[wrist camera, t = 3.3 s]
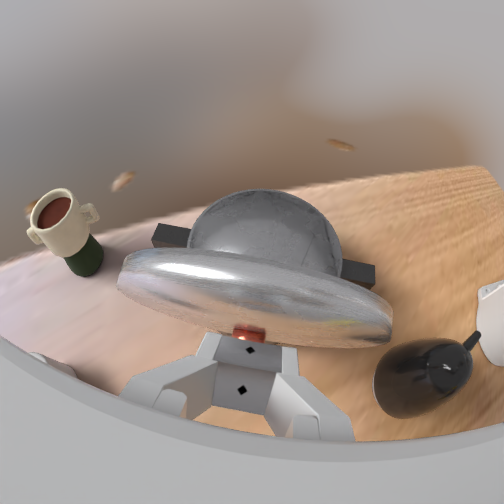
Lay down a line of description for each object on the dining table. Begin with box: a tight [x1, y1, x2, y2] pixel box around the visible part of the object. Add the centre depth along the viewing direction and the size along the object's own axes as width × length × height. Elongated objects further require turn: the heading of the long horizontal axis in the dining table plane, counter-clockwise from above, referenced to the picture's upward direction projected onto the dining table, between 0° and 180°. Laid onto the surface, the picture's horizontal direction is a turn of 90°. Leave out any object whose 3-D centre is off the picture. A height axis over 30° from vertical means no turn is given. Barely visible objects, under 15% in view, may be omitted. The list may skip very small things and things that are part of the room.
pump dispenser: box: [372, 331, 481, 419], centre depth 27 cm, size 10×10×15 cm
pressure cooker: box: [151, 189, 375, 345], centre depth 35 cm, size 18×26×11 cm
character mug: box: [27, 188, 103, 277], centre depth 34 cm, size 11×7×13 cm, turn 113°
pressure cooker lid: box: [116, 248, 393, 348], centre depth 17 cm, size 16×16×3 cm
